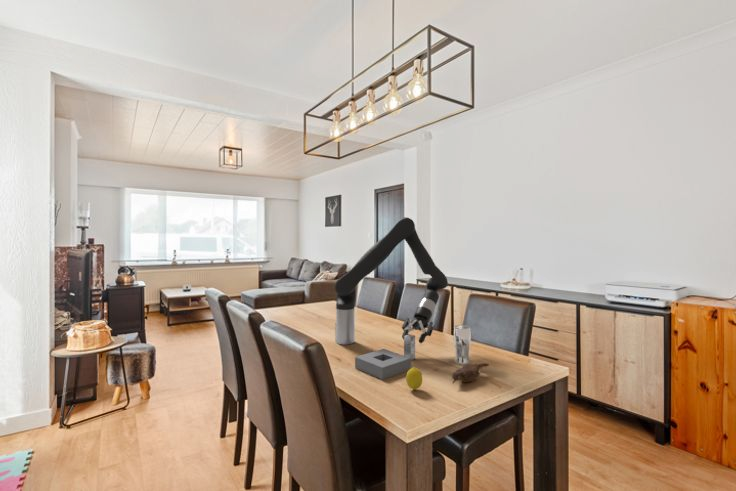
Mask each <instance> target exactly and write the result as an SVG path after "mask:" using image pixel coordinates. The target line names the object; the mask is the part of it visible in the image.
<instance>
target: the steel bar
mask: <svg viewBox="0 0 736 491" xmlns="http://www.w3.org/2000/svg"><path fill="white" fill-rule="evenodd" d="M403 355H404V356H407V357H410V358H411V361H413V360H414V359H416V335H413V334H410V333H408V335H405V336H404V340H403Z"/></svg>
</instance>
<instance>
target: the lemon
mask: <svg viewBox="0 0 736 491" xmlns="http://www.w3.org/2000/svg"><path fill="white" fill-rule="evenodd" d="M406 372H407V373H406V376H405V377H406V380H405V381H406V385H407V386H408V387H409V388H410V389H412V390H413V391H416V390H417V389H419V388H420V387H422V384H423V374H422V372H421V370H420V369H418V368H417V367H415V366H413V367H411V369H410V370H408V371H406Z"/></svg>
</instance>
